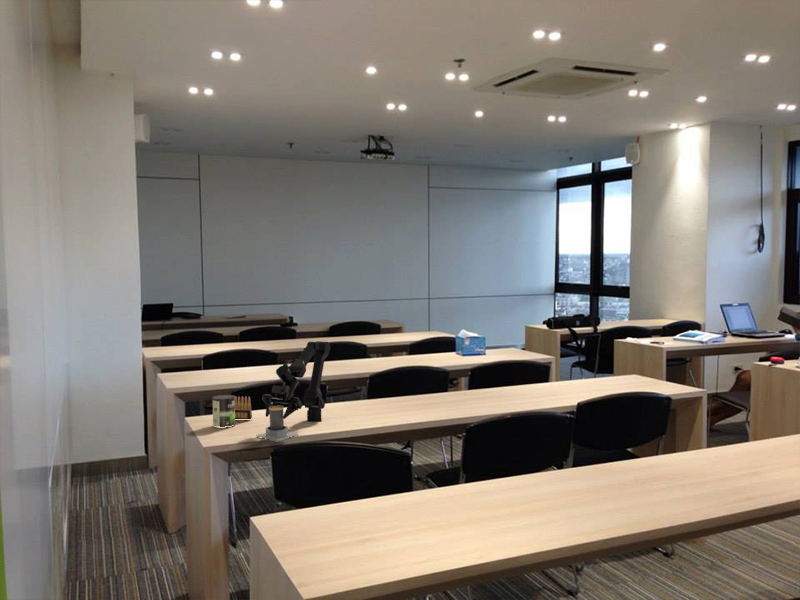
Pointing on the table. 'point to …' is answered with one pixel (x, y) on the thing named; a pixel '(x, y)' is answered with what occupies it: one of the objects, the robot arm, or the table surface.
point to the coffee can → (223, 410)
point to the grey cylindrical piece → (276, 417)
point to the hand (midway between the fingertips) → (274, 417)
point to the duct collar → (277, 434)
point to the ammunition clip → (243, 408)
